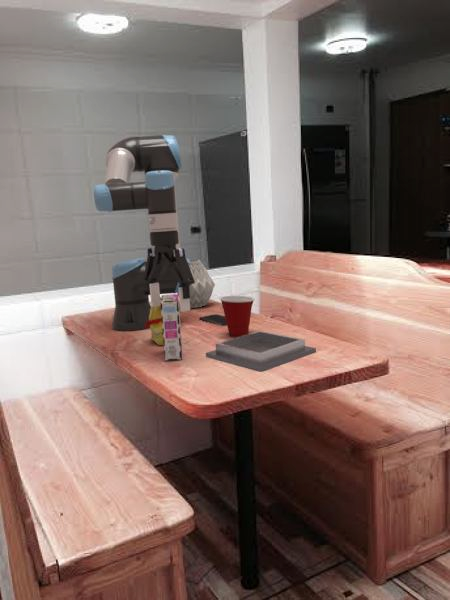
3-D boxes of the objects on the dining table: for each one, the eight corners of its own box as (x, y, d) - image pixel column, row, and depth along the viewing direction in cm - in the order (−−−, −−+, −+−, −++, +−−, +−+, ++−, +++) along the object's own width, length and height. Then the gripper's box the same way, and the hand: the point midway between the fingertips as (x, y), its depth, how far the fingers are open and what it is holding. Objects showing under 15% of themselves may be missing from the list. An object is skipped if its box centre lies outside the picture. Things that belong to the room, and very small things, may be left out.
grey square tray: (206, 356, 145) (205, 344, 145) (260, 339, 159) (259, 328, 158) (261, 371, 130) (260, 357, 129) (315, 351, 143) (315, 339, 143)
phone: (215, 314, 195) (240, 319, 183) (215, 317, 195) (241, 323, 183) (197, 317, 191) (222, 324, 179) (197, 320, 191) (222, 327, 179)
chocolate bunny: (163, 337, 169) (159, 290, 167) (174, 344, 160) (170, 295, 157) (142, 340, 167) (137, 293, 164) (152, 348, 157) (148, 298, 154)
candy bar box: (183, 360, 143) (178, 300, 140) (164, 361, 143) (159, 301, 140) (182, 348, 154) (178, 293, 151) (165, 350, 154) (160, 294, 151)
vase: (224, 304, 216) (221, 258, 212) (194, 312, 204) (191, 264, 201) (196, 300, 227) (193, 257, 223) (167, 308, 215) (163, 262, 212)
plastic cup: (262, 336, 163) (260, 297, 161) (229, 341, 160) (226, 301, 157) (249, 328, 173) (247, 292, 171) (217, 333, 170) (214, 296, 167)
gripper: (126, 231, 149) (133, 306, 153) (180, 230, 131) (187, 315, 134) (149, 229, 154) (155, 302, 158) (204, 228, 136) (210, 310, 139)
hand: (170, 308), depth 146 cm, fingers open, 13 cm apart
